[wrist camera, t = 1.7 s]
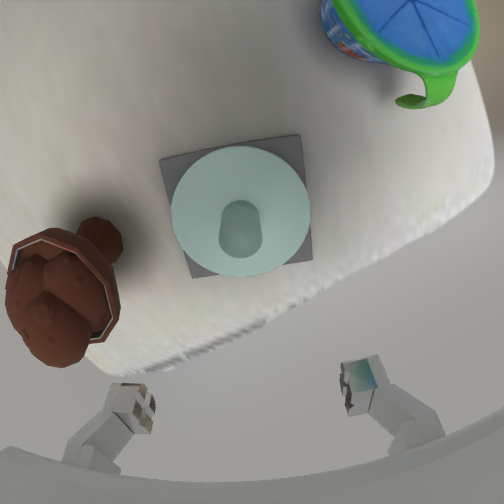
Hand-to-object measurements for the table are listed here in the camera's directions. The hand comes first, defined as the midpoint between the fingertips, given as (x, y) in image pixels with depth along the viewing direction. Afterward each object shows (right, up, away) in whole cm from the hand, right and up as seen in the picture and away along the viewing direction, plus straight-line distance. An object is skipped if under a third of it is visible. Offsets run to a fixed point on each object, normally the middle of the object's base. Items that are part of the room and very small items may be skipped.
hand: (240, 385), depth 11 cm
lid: (-1, +9, +16) cm, 18 cm away
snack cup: (+10, +25, +8) cm, 28 cm away
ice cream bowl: (-15, +6, +17) cm, 24 cm away
